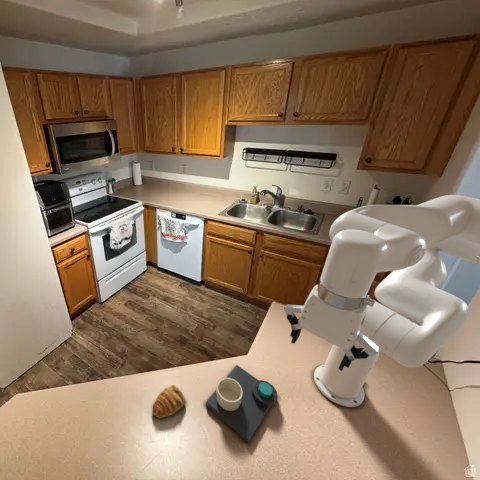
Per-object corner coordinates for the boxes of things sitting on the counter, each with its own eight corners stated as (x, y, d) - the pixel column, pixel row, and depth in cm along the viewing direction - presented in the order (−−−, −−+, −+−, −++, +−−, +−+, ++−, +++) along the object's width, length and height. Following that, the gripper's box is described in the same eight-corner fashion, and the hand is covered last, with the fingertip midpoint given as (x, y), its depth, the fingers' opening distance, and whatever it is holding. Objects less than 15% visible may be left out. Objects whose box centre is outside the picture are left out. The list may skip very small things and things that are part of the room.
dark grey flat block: (236, 368, 83) (237, 360, 81) (278, 398, 74) (281, 391, 73) (206, 405, 73) (206, 398, 72) (250, 445, 64) (252, 438, 63)
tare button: (261, 383, 75) (262, 379, 74) (273, 392, 73) (274, 388, 72) (255, 392, 73) (256, 388, 72) (267, 401, 71) (268, 397, 70)
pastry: (162, 427, 69) (161, 419, 67) (147, 407, 73) (146, 399, 72) (187, 403, 74) (187, 396, 72) (172, 386, 78) (171, 378, 77)
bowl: (224, 382, 77) (225, 373, 75) (245, 398, 73) (247, 389, 71) (211, 399, 73) (212, 389, 71) (232, 417, 69) (233, 407, 66)
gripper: (401, 304, 46) (368, 365, 54) (300, 266, 57) (285, 322, 65) (394, 328, 41) (359, 391, 50) (285, 282, 53) (271, 340, 61)
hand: (317, 352), depth 57 cm, fingers open, 9 cm apart
